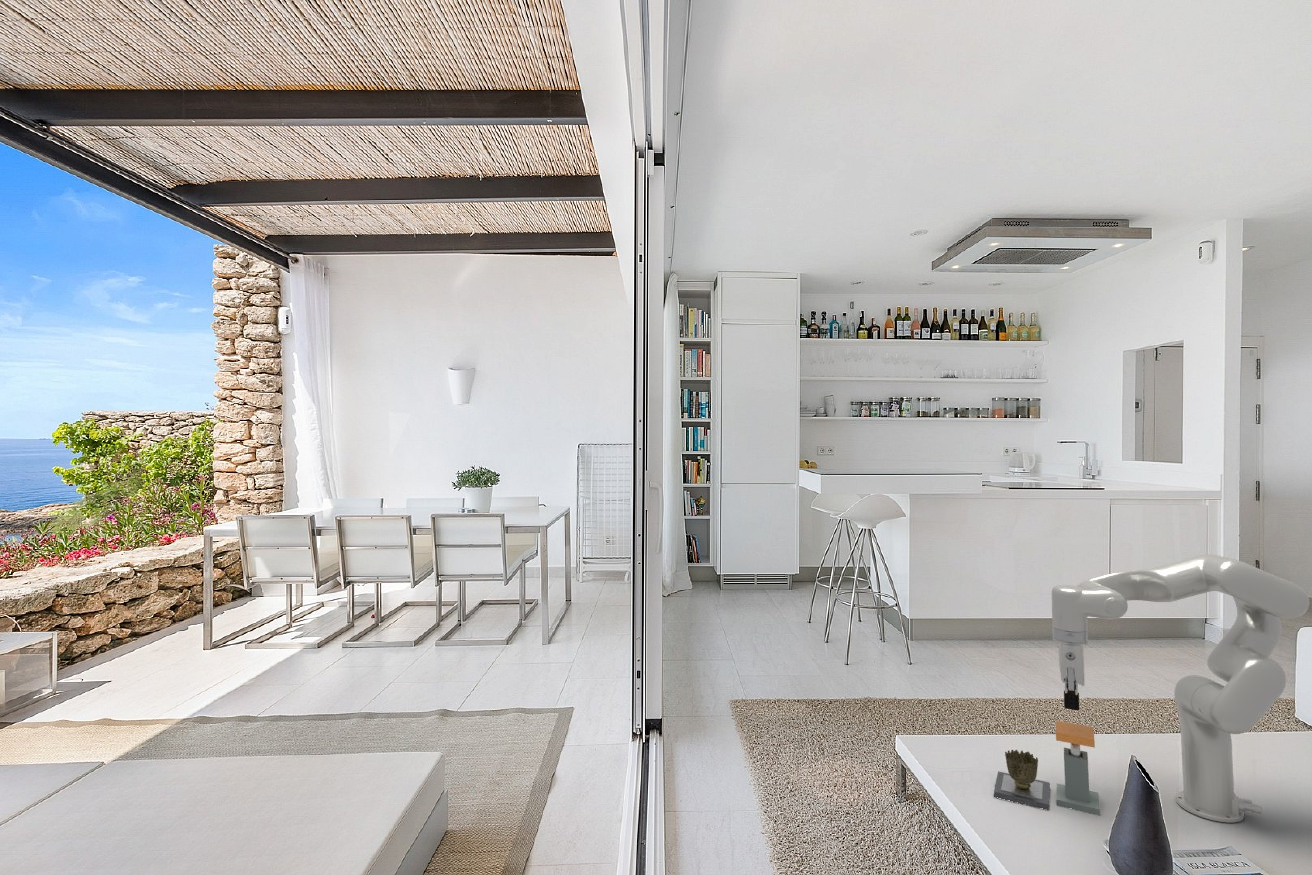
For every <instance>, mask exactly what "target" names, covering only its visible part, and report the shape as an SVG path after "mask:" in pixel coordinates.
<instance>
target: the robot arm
mask: <svg viewBox="0 0 1312 875" xmlns="http://www.w3.org/2000/svg"><path fill="white" fill-rule="evenodd" d="M1210 592H1218V593H1220V594H1221V593H1222V594H1225V595H1228V596H1231V597H1232V599H1233V601H1234V603H1235V606H1236V619H1235V621H1234V623H1233V625H1232V626H1231V628H1230V629H1229V630H1228V632H1226V634H1225V635H1224V636H1223V637H1222V638H1221V640H1220V641H1219V642H1218V643H1217V645H1216V646H1215V647H1214V648H1213V649H1212V651H1211V652H1210V654H1209V655H1208V657H1207V660H1206V661H1207V662H1206V663H1207V667H1208V669H1209V671H1210V672H1211V673H1212V674H1213V675H1214V676H1216V677H1217V678H1218V679H1221V680H1223V681H1225V682H1226V684H1225V685H1222V684H1221V683H1218V682H1217V681H1215V680H1213V679H1210V678H1208V677H1205V676H1202V675H1191V674H1190V675H1186V676H1183V677H1182V678H1180V679H1179V680H1178V681H1177V683H1176V684H1175V687H1174V700H1175V706H1176V708H1177V709H1176V710H1177V713H1178V717H1179V725H1180V743H1181V744H1180V746H1181V764H1182V765H1181V766H1182V768H1181V769H1182V786H1183V790H1181V791H1178V792H1177V793H1176V794H1175V801H1176V803H1177V804H1178V806H1180V807H1181V808H1183V809H1184V810H1185V811H1186V812H1189V813H1191V814H1193V815H1195V816H1197V817H1200V818H1202V819H1203V818H1204V819H1207V820H1209V821H1215V822H1220V823H1226V824H1227V823H1231V824H1233V823H1238V822H1241V821H1243V820H1244V818H1245V816H1244V815H1245V813H1244V812H1245V811H1247V812H1250V813H1254V814H1258V815H1262V814H1263V810H1262V806H1261V805H1260V804H1256V803H1253V802H1252V799H1246V798H1241V797H1240V798H1239V796H1237V794H1236V793H1235V787H1234V786H1235V784H1234V783H1235V782H1234V780H1235V779H1234V767H1233V766H1234V764H1233V763H1234V762H1233V742H1232V735H1240V734H1244V733H1247V732H1249V731H1250V730H1251V729H1253V728H1254V727H1255V726H1256V725H1258V723H1259V722H1260V721H1261V720H1262V719H1263V717H1264V716H1265V715H1266V713H1268V711H1270V709H1271V708H1272V707H1273V705H1274V704H1275V703H1276V702H1277V700H1278V699H1280V697H1281V695H1282V694H1283V693H1284V691H1285V688H1286V684H1287V675H1286V672H1285V670H1284V668H1283V666H1282V665H1280V663H1279V662H1278V661H1276V660H1275V659H1274V658H1272V657H1270V656H1271V655H1272V654H1273V652H1274V651H1275V649H1276V648H1277V646H1278V645H1279V643H1280V641H1281V639H1282V635H1283V634H1282V633H1283V628H1282V622H1281V619H1296V618H1299V617H1301V616H1303V615H1305V614H1306V612H1307V611H1308V609H1309V607H1310V598H1309V596H1308V594H1307V593H1306V591H1305V589H1303V588H1302V587H1300V586H1299V585H1298V584H1296V583H1294V582H1292V581H1290V580H1287V579H1284V578H1282V577H1279V576H1277V575H1275V574H1272V573H1270V572H1268V571H1265V570H1262V569H1260V568H1258V567H1257V566H1254V565H1251V564H1248V563H1246V562H1244V561H1241V560H1238V559H1234V558H1229V557H1227V556H1226V557H1225V556H1221V555H1216V554H1202V555H1198V556H1193V557H1190V558H1186V559H1182V560H1179V561H1174V562H1171V563H1168V564H1164V565H1160V566H1158V567H1153V568H1146V569H1138V570H1130V571H1122V572H1121V571H1120V572H1115V573H1114V572H1113V573H1110V574H1105V575H1101V576H1096V577H1093V578H1090V579H1089V578H1088V579H1087V580H1083V581H1081V582H1080V583H1079V584H1078V585H1076V586H1075V585H1070V584H1069V585H1068V584H1058V585H1054V586H1053V587H1052V588H1051V618H1052V619H1051V622H1052V623H1051V624H1052V626H1051V627H1052V640H1053V641H1054V642H1056V643H1057V645H1058V664H1059V673H1060V679H1061V682H1062V683H1063V684H1064V690H1063V704H1064V705H1063V707H1064V709H1067V710H1071V711H1072V710H1073V711H1080V692H1079V690H1078V689H1079V687H1078V686H1081V687H1084V686H1085V683H1086V682H1085V652H1084V646H1086V645H1088V644H1089V639H1088V638H1089V635H1088V634H1089V631H1088V630H1089V629H1088V628H1089V627H1088V617H1091V618H1098V619H1102V620H1116V619H1120V618H1122V617H1123V616H1125V615H1126V613H1127V611H1128V609H1129V608H1128V601H1145V602H1153V603H1172V602H1177V601H1180V600H1184V599H1187V598H1191V597H1195V596H1198V595H1203V594H1205V593H1206V594H1207V593H1210Z"/></svg>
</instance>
